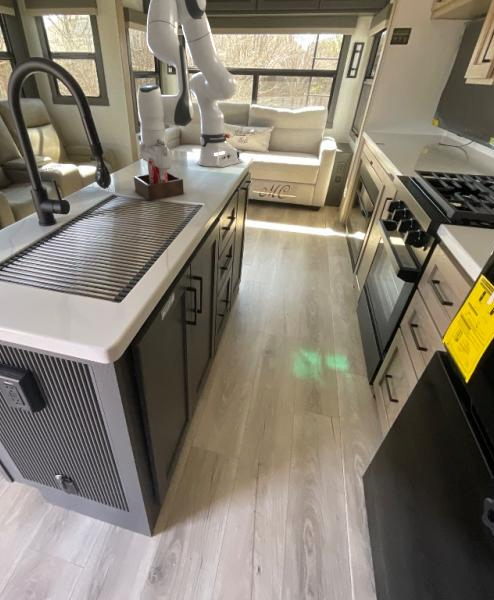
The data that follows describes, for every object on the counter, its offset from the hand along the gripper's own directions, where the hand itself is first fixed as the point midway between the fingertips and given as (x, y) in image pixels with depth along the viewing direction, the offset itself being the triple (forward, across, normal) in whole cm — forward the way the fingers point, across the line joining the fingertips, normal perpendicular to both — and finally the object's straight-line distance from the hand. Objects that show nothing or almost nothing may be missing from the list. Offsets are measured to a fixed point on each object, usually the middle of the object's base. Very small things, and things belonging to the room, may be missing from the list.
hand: (157, 176), depth 128 cm
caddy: (+6, 0, 0) cm, 6 cm away
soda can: (+6, 0, 0) cm, 6 cm away
